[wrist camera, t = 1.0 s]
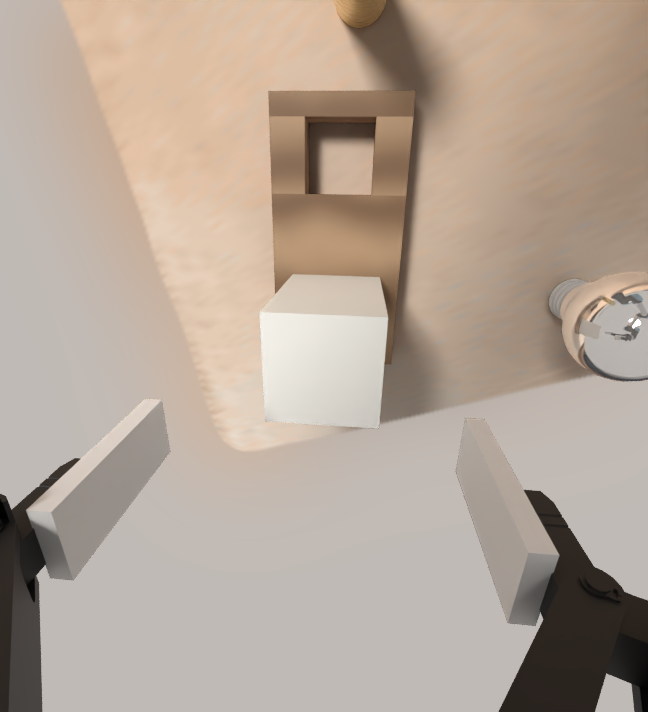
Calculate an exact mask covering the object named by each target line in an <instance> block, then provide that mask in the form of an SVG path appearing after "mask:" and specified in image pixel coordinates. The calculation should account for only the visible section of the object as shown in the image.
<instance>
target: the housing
mask: <svg viewBox="0 0 648 712" xmlns="http://www.w3.org/2000/svg"><path fill="white" fill-rule="evenodd" d="M387 327H388V314H387V309H386V304H385V299H384V295H383V290H382V285H381V280H380V277H362V276H332V275H302V274H292V276H291V277H290V278H289V279H288V280H287V281H286V282H285V284H284V285H283V286H282V287H281V288H280V289H279V290H278V292H277V293H276V294H275V295H274V296H273V297H272V298H271V300H270V301H269V302H268V303H267V304H266V305H265V306H264V308H263V309H262V310H261V311H260V330H261V350H262V370H263V390H264V410H265V421H266V422H282V423H297V424H313V425H329V426H344V427H360V428H375V429H379V423H380V411H381V399H382V387H383V375H384V363H385V351H386V339H387Z"/></svg>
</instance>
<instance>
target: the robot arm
mask: <svg viewBox="0 0 648 712" xmlns="http://www.w3.org/2000/svg"><path fill="white" fill-rule="evenodd" d="M169 453H170V447H169V440H168V434H167V428H166V423H165V416H164V410H163V404H162V400H155V399H145V400H144V401H143V402H142V403H141V404H139V406H137V407H136V408H135V409H134V410H133V411H132V412H131V413H130V414H129V415H127V416H126V417H125V418H124V419H123V420H122V421H121V422H120V423H119V424H118V425H117V426H116V427H115V428H114V429H112V430H111V431H110V432H109V433H108V434H107V435H106V436H105V437H104V438H103V439H102V440H101V441H100V442H99V443H98V444H96V445H95V446H94V447H93V448H92V449H91V450H90V451H89V452H88V453H87V454H86V455H85V456H83V457H82V458H81V459H78V458H75V459H73V460H71V461H69V462H68V463H66V464H64V465H62V466H60V467H59V468H58V469H57V470H56V471H55V472H54V473H52V474H51V475H50V476H49V478H48V479H46V480H45V481H44V482H42V483H41V484H40V486H39V487H37V488H36V489H35V490H33V491H32V492H31V493H30V494H29V495H28V496H27V497H26V498H25V499H23V500H22V501H21V502H20V503H19V504H18V505H17V506H16V507H14V508H13V509H12V510H11V508H10V505H9V503H8V500H7V498H6V496H4V495H2V494H0V712H42V683H41V645H40V609H39V582H38V580H37V577H36V575H37V574H38V573H39V571H40V570H41V569H42V568H43V567H44V565H46V567H47V570H48V573H49V576H50V578H54V579H65V580H74V579H75V578H76V576H77V575H78V574H79V572H80V571H81V570H82V568H83V567H84V565H85V564H86V563H87V562H88V560H89V559H90V558H91V556H92V555H93V554H94V552H95V551H96V549H97V548H98V547H99V546H100V544H101V543H102V542H103V540H104V539H105V538H106V536H107V535H108V534H109V532H110V531H111V530H112V528H113V527H114V526H115V524H116V523H117V522H118V520H119V519H120V518H121V516H122V515H123V514H124V513H125V511H126V510H127V509H128V507H129V506H130V505H131V503H132V502H133V500H134V499H135V498H136V497H137V495H138V494H139V492H140V491H141V490H142V489H143V487H144V486H145V485H146V483H147V482H148V481H149V479H150V478H151V477H152V475H153V474H154V473H155V471H156V470H157V469H158V467H159V466H160V465H161V463H162V462H163V461H164V459H165V458H166V457H167V455H168V454H169ZM456 474H457V477H458V480H459V483H460V485H461V488H462V491H463V494H464V497H465V500H466V503H467V506H468V509H469V512H470V514H471V518H472V520H473V523H474V526H475V529H476V532H477V535H478V538H479V541H480V544H481V547H482V549H483V553H484V556H485V558H486V561H487V564H488V567H489V570H490V573H491V576H492V579H493V582H494V585H495V588H496V590H497V593H498V596H499V599H500V602H501V605H502V608H503V611H504V614H505V617H506V620H507V623H510V624H522V625H531V626H536V623H537V620H538V617H539V614H540V612H541V614H542V617H543V619H544V620H543V622H542V624H541V626H540V628H539V630H538V632H537V634H536V636H535V638H534V640H533V642H532V644H531V646H530V648H529V651H528V653H527V654H526V657H525V659H524V661H523V663H522V665H521V667H520V669H519V671H518V673H517V675H516V678H515V679H514V682H513V683H512V685H511V687H510V690H509V691H508V694H507V696H506V698H505V700H504V702H503V704H502V706H501V708H500V710H499V712H595V709H596V706H597V703H598V699H599V696H600V693H601V689H602V686H603V682H604V679H605V675H606V673H607V674H609V675H612V676H614V677H617V678H619V679H622V680H624V681H626V682H629V683H631V684H632V692H633V701H634V711H635V712H648V601H647V600H644V599H642V598H639V597H636V596H633V595H631V594H628V593H626V592H624V590H623V589H622V587H621V586H620V585H619V584H618V583H617V582H616V581H615V579H614V578H612V577H611V576H610V575H608V574H607V573H605V572H603V571H602V570H600V569H598V568H595V567H594V566H593V564H592V563H591V561H590V560H589V558H588V556H587V555H586V553H585V552H584V550H583V549H582V547H581V546H580V544H579V542H578V541H577V539H576V537H575V536H574V534H573V533H572V531H571V529H570V528H568V525H567V523H566V521H565V520H564V518H562V515H561V514H560V512H559V511H558V509H557V507H556V506H555V504H554V503H553V502H552V501H551V500H550V499H549V498H548V497H547V496H545V495H544V494H543V493H542V492H541V491H532V490H523V489H522V487H521V485H520V483H519V481H518V479H517V477H516V476H515V474H514V472H513V470H512V468H511V467H510V465H509V463H508V461H507V459H506V458H505V456H504V454H503V452H502V451H501V449H500V447H499V445H498V443H497V441H496V439H495V438H494V436H493V434H492V432H491V430H490V429H489V427H488V425H487V423H486V422H485V420H484V419H475V418H465V423H464V428H463V434H462V439H461V445H460V451H459V456H458V462H457V467H456Z"/></svg>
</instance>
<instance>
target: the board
mask: <svg viewBox="0 0 648 712" xmlns="http://www.w3.org/2000/svg"><path fill="white" fill-rule="evenodd" d="M268 93H269V123H270V153H271V183H272V213H273V243H274V273H275V294H276V293H277V292H278V290H279V289H280V288H281V287H282V286H283V285H284V284H285V282H286V281H287V280H288V279H289V278H290V277H291V276H292V274H302V275H332V276H362V277H380V280H381V285H382V290H383V295H384V299H385V304H386V309H387V314H388V327H387V339H386V351H385V363H384V364H391V359H392V348H393V337H394V326H395V315H396V304H397V293H398V282H399V271H400V260H401V249H402V238H403V227H404V216H405V205H406V194H407V183H408V172H409V160H410V149H411V138H412V127H413V116H414V105H415V94H416V91H268ZM309 123H375V140H374V157H373V174H372V192H371V195H331V194H309Z"/></svg>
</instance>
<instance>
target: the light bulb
mask: <svg viewBox="0 0 648 712" xmlns="http://www.w3.org/2000/svg"><path fill="white" fill-rule="evenodd" d="M549 307H550V310H551V312H552V313H553V314H554V315H555V316H557V317H558V318H560V319H562V321H563V323H562V336H563V339H564V342H565V345H566V348H567V350H568V351H569V353H570V355H571V356H572V357H573V358H574V359H575V360H576V361H577V362H578V363H579V364H580V365H581V366H582V367H583V368H585V369H587V370H588V371H590V372H592V373H594V374H595V375H598V376H601V377H604V378H607V379H611V380H616V381H643V380H648V273H646V272H638V271H632V272H621V273H616V274H612V275H608V276H605V277H603V278H600V279H598V280H596V281H594V282H592V283H589V282H587V281H584V280H581V279H569V280H566V281H564V282H562V283H560V284H559V285H558V286H556V287H555V289H554V290H553V291H552V293H551V295H550V298H549Z"/></svg>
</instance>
